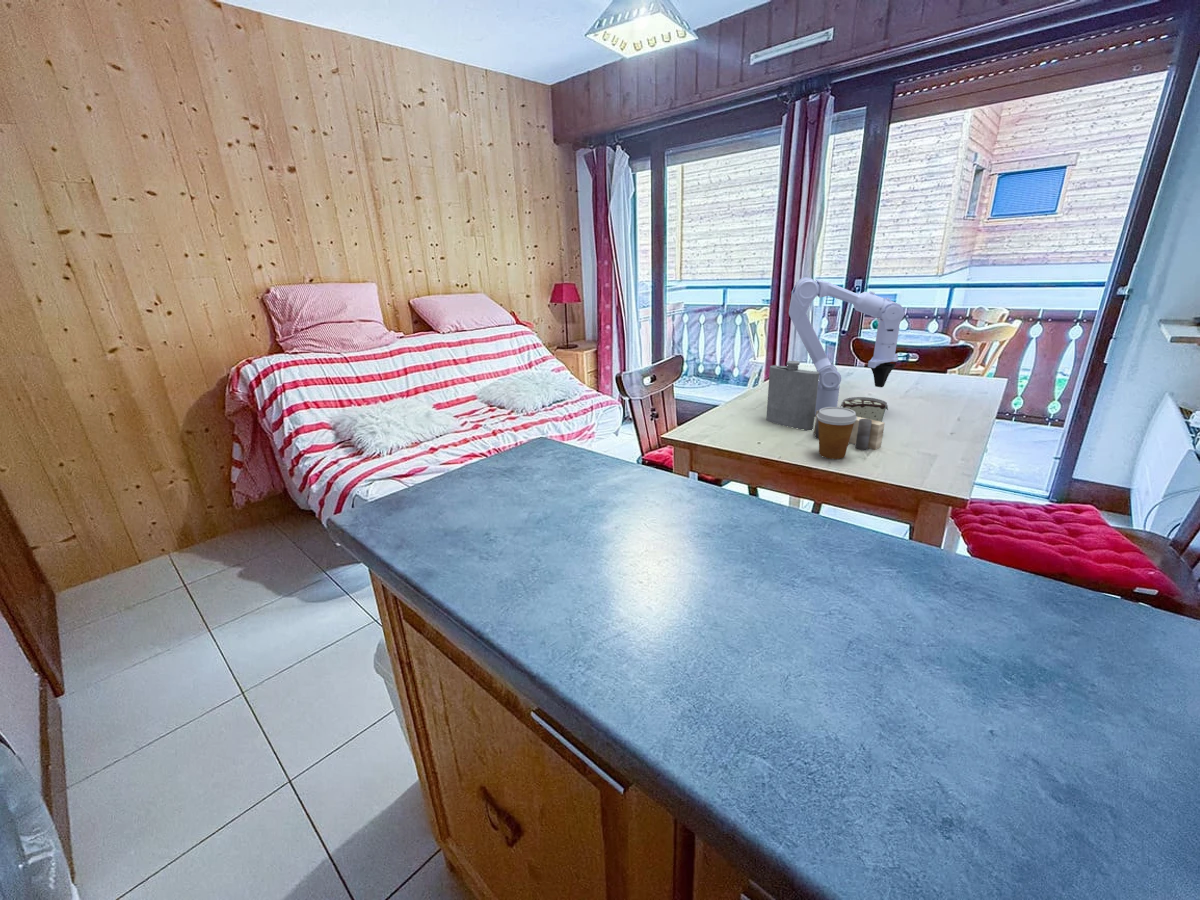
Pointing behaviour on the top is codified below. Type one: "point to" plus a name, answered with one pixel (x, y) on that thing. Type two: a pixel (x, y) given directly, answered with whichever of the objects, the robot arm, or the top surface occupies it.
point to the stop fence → (862, 433)
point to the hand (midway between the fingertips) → (879, 386)
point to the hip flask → (792, 396)
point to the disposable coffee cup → (835, 431)
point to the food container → (866, 407)
